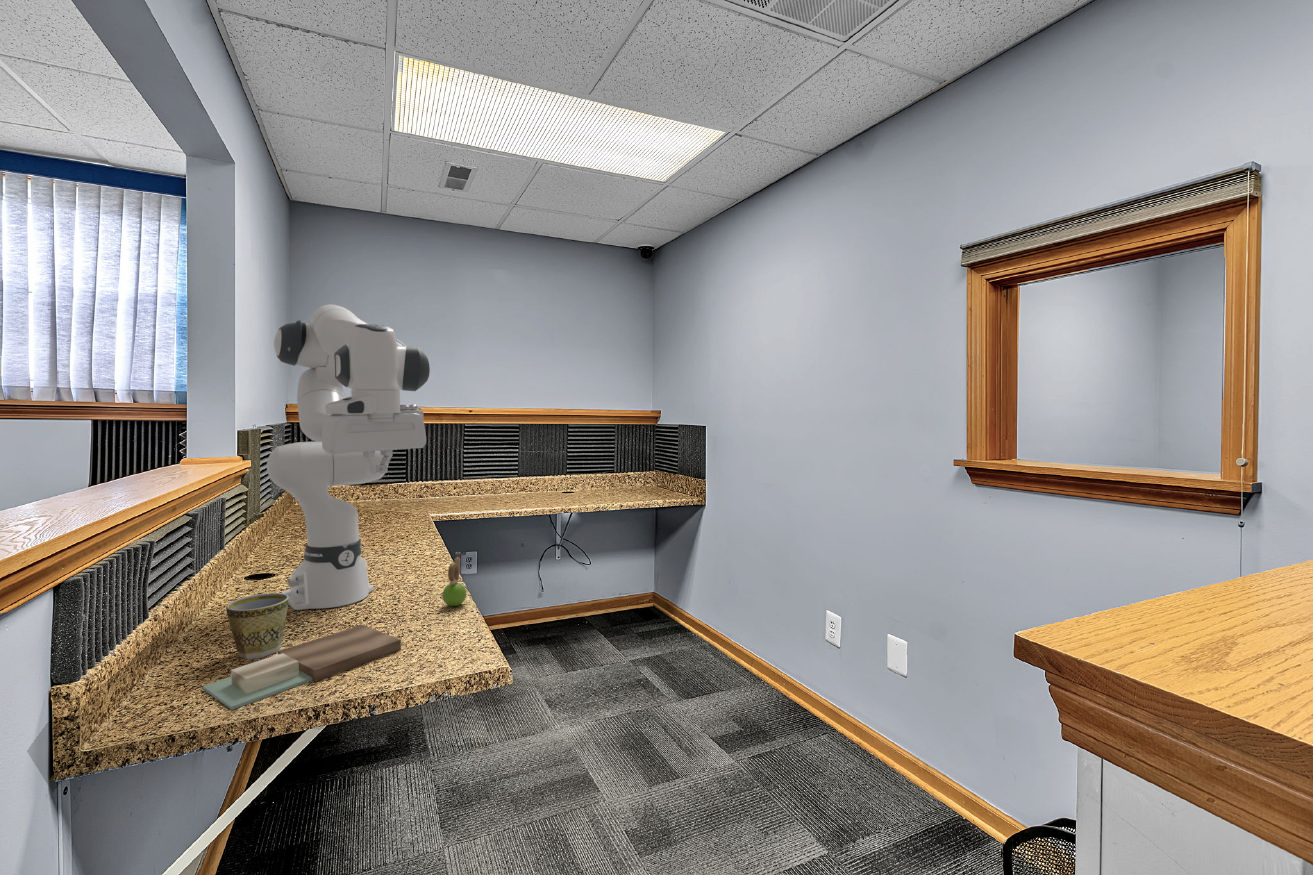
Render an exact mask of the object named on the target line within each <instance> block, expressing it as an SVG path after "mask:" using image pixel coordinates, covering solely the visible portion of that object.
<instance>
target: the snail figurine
mask: <svg viewBox="0 0 1313 875" xmlns="http://www.w3.org/2000/svg"><path fill="white" fill-rule="evenodd" d="M455 555H456V557H455V559H454V562H451V563H450V565H449V566H448V568H447V569H448V570H447V577H448V580H449V581H450V582H449V584H447V585H446V586H445V587H444V589H443V591H442V595H441V596H442V600H443V602H444V603H445V604H446V605H447V606H449V607H457V606H460V605H462V604H463V603H464V602H465V600H466V598H467V589H466V587H465V586H464V585H463V584H462V583H461V582H460V583H459V582H458V581H459V578H460V573H461V558H460V557H461V556H460V555H461V552H460V551H459V552H458V551H456V552H455Z"/></svg>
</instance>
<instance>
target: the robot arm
mask: <svg viewBox="0 0 1313 875" xmlns="http://www.w3.org/2000/svg"><path fill="white" fill-rule="evenodd" d="M273 347H274V351H275V354H276V357H277V359H278V360H279V361H280V362H282V363H284V364H287V365H290V366H296V365H297V366H300V367H305V368H308V369H306V370H305V371H304V372H302V373H301V375H300V376H299V379H298V383H297V392H296V402H297V411H298V413H297V414H298V420H299V421H298V422H299V428H300V429H301V431H302V433H303V434H304V435H305V436H306V437H308V439H310V440H312V441H299V442H298V441H297V442H293V443H288V444H283V445H279V446H276V447H275V448H274V449H273V450H272V451H271V452H270V454H269V455H268V458H267V461H266V471H267V474H268V476H269V478H270V480H271V482H273V483H274V484H275V485H276V486H278V487H279V488H280V489H282V490H284V491H286V492H287V493H288V494H290V495H291V496H292V497H293V498H294V499H295V500H296V502H297V503H298V505H299V506H300V508H301V509H302V512H303V515H304V520H305V528H306V529H305V530H306V538H307V539H306V540H307V541H306V542H307V544H305V545H303V546H304V547H305V548H304V549H303V550H304V552H303V553H304V554H303V560H302V562H301V563H300V564H299V565H298V566H297V567H296V568H295V570H294V571H293V572H292V573H291V577H288V579H287V584H288V587H289V588H288V589H287V590H284V591H282V592H281V594H286V595H288V597H289V600H288V606H290V607H291V608H292V609H293V610H294V611H302V610H309V609H313V610H314V609H330V608H337V607H343V606H347V605H351V604H355V603H358V602H360V601H362V600H364V599H366V598H367V597H368V595H369V594H370V593H371V592H373V591H374V589H375V588H374V585H373V584H370V583H369V575H368V574H369V573H368V572H369V571H368V564H367V560H366V559H365V558H364V557H362V556H361V554H362V548H363V547H362V540H361V538H360V537H359V536H360V535H359V533H360V530H359V513H358V510H357V508H356V507H355V505H353V504H351V503H350V502H348V501H345V500H343V499H340V498H337V497H334V496H332V495H330V493H329V488H331V487H337V486H340V487H341V486H351V485H362V484H366V483H371V482H374V481H378V480H381V479H382V478H383V477H384V475H385V474H387V473H388V467H389V463H390V461H391V460H392V457H393V451H394V450H395V451H397V450H411V449H422V448H424V447H425V445H426V444H427V435H426V427H425V422H424V421H425V420H424V419H425V418H424V411H423V409H422V408H421V407H419V406H418V405H417V404H410V405H409V404H401V392H400V391H406V392H416V391H418V390H419V389H420V388H422V387H423V386H424V385H425V384H426V383H427V382H428V380H429V377H430V371H431V367H430V361H429V358H428V356H427V354H425V352H424V351H423V350H422V349H421V348H419V347H418V346H417V345H407V344H405V343H404V342H402V341H401V340H399V339H398V338H397V337H396V333H395V330H394V329H393V328H391V327H390V326H387V325H379V324H370V323H367V322H365V321H364V320H362V319H360V318H358V317H357V315H356V314H355V313H353V312H352V311H350V310H349V309H348V308H345V307H343V306H341V305H338V304H337V305H336V304H331V303H330V304H325V305H322V306H319V307H318V308H317V309H316V310H315V311H314V312H313V314H312V316H311V319H310V323H305V322H302V321H301V320H300V319H299V320H296V321H295V322H291V323H285V324H283V325H282V326H281V327H278V331H277V332H276V334H275V336H274V339H273ZM343 386H344V387H345V388H349V389H350V394H351V395H350V396H347V397H346V395H345V391H344V388H343Z"/></svg>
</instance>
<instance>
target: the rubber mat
mask: <svg viewBox="0 0 1313 875" xmlns="http://www.w3.org/2000/svg"><path fill="white" fill-rule="evenodd" d="M311 681H313V680H312V677H310V676H309V675H307V674H305V673H303V672H301V671H299V675H298V676H296V677H293V678H290V679H287V680H284V681H282V682H279V683H276V684H273V685H271V686H268V687H265V688H262V689H259V690H257V691H254V692H251V693H248V694H246V693H245V692H243V691H242V690H240V689H239V688H237V687H235V686H234V685H232V676H229V677H225V679H224V678H223V679H221V680H218V681H214V682H211V683H208V684H206V685H203V686H202V690H203V691H204V692H206V693H207V694H209V695H210V696H212V697H213V698H214V699H216V700H217V701H218V702H220V703H221V704H223V705H224V706H225V707H227V709H230V711H232V710H236V709H238V708H241V707H244V706H247V705H250V704H253V703H254V702H258V701H260V700H262V699H265V698H268V697H272V696H274V695H276V694H280V693H282V692H285V691H286V690H289V689H292V688H295V687H297V686H301V685H304V684H306V683H309V682H311Z"/></svg>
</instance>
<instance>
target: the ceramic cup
mask: <svg viewBox="0 0 1313 875" xmlns="http://www.w3.org/2000/svg"><path fill="white" fill-rule="evenodd" d="M281 593H282V592H281ZM281 593H280V592H279V593H278V592H276V593H275V592H274V593H273V592H271V593H270V592H269V593H261V594H260V593H259V594H255V595H254V594H253V595H249V596H245V597H241V598H238V599H236V600H233V601H231V602H229V603H228V604H227V605H226V606H225V610H226V613H227V614H226V616H227V618H228V619H227V620H228V622H229V626H230V629H231V632H232V635H233V636H232V637H233V639H234V643H235V647H236V650H237V653H238V654H237V655H238V656H239V657H240V658H243V659H245V660H253V659H254V660H255V659H262V658H264V657H267V656H270V655H274V654H275V653H278V651H280V648H281V646H282V644H283V638H284V632H285V625H286V624H285V623H286V618H287V613H288V608H289V607H288V606H289V604H288V600H289V597H288V595H286V594H281Z"/></svg>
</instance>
